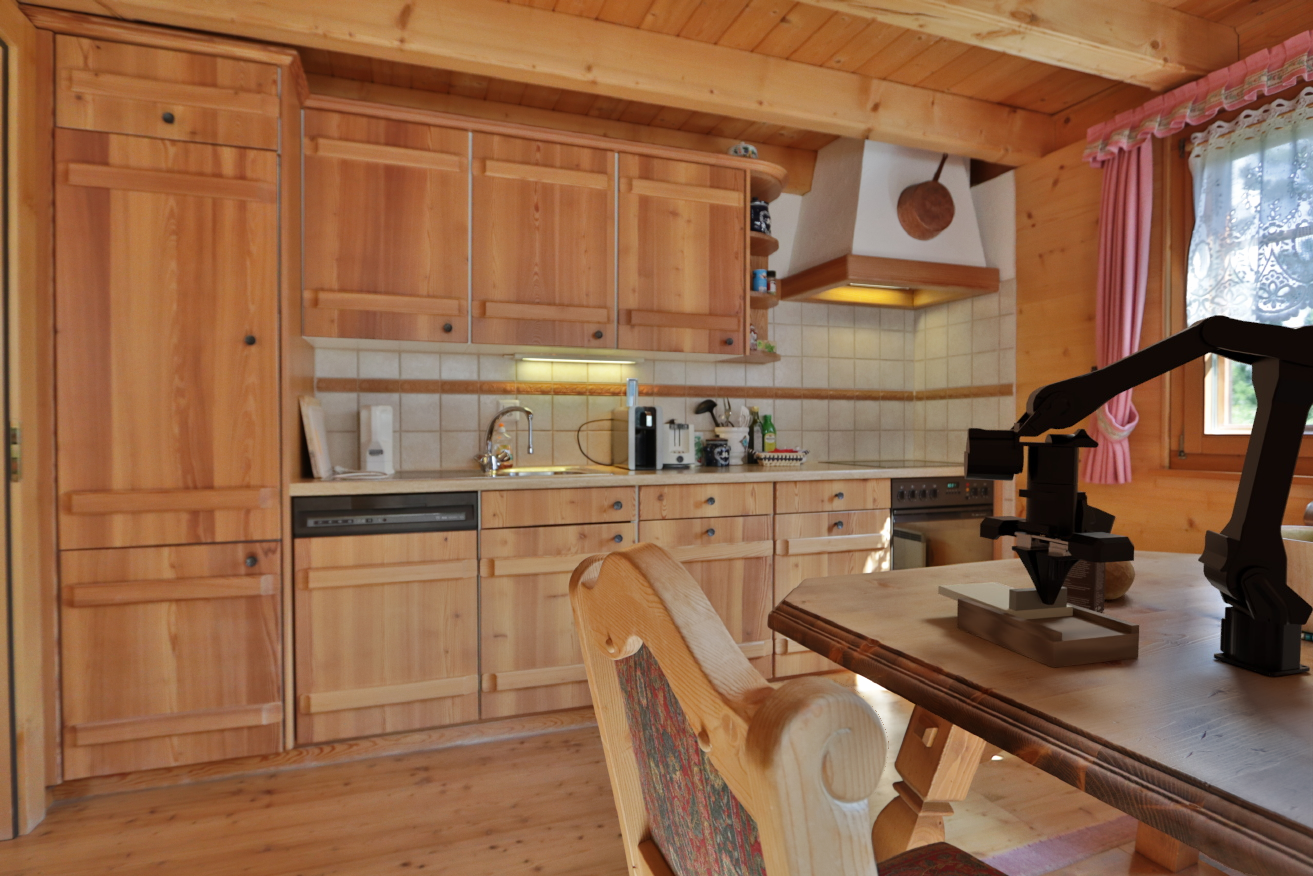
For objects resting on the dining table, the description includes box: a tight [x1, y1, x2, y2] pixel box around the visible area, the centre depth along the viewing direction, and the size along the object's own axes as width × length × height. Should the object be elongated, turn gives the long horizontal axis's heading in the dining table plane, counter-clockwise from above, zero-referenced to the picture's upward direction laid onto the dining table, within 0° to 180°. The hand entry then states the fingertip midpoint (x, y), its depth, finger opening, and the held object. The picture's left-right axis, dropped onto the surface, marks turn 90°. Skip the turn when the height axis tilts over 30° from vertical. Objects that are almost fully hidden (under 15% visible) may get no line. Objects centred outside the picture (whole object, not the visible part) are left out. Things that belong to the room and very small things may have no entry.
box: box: [1058, 538, 1106, 613], centre depth 107 cm, size 6×4×12 cm
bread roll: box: [1105, 561, 1136, 600], centre depth 117 cm, size 10×15×8 cm, turn 153°
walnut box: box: [956, 598, 1140, 668], centre depth 91 cm, size 16×13×4 cm
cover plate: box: [937, 581, 1073, 619], centre depth 98 cm, size 14×10×4 cm
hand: (1048, 604), depth 90 cm, fingers closed
